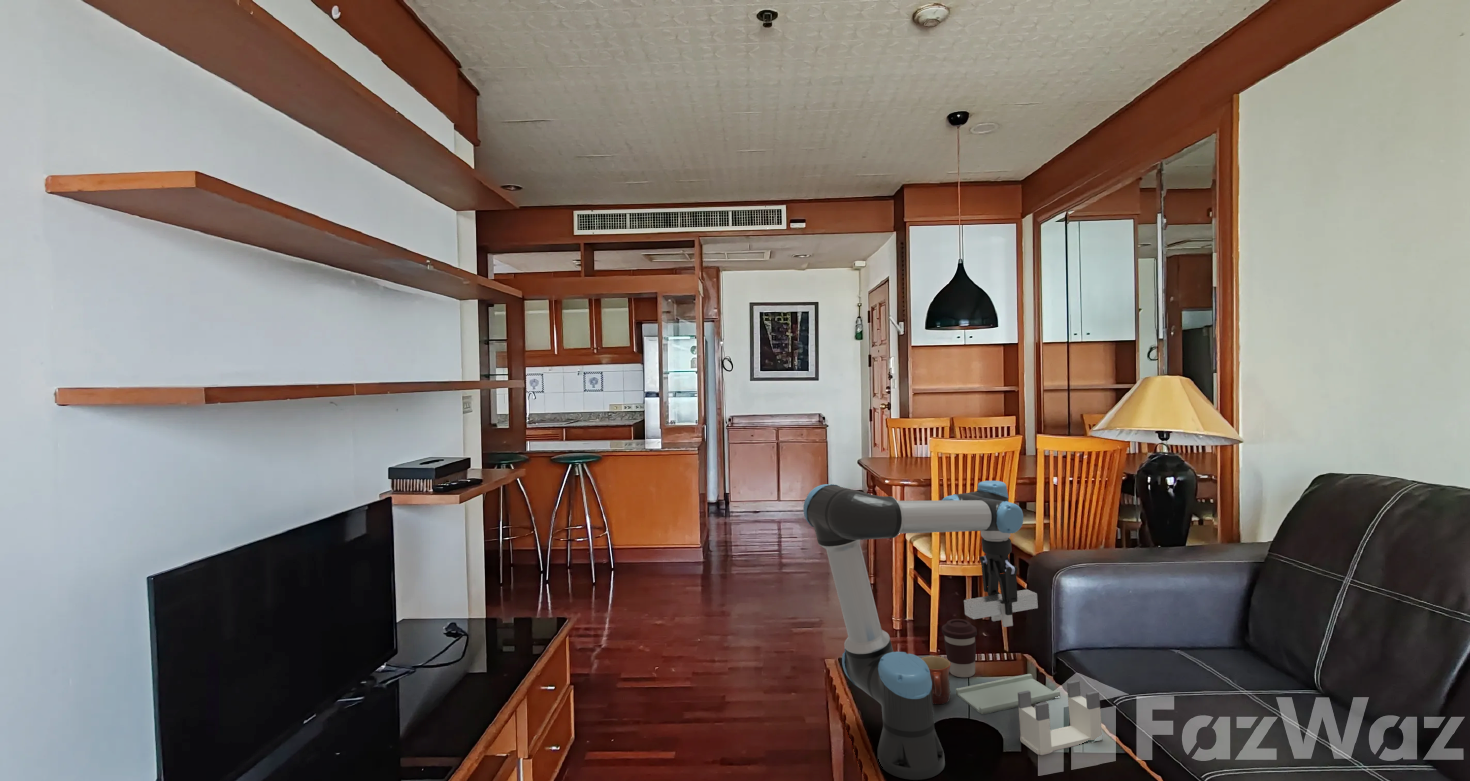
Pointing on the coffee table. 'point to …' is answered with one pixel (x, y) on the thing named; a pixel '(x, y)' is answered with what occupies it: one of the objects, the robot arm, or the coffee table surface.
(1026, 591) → the rail
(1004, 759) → the coffee table surface
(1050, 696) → the pad
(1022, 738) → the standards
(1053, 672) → the coffee table surface
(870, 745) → the coffee table surface
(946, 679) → the mug
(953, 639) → the coffee cup
